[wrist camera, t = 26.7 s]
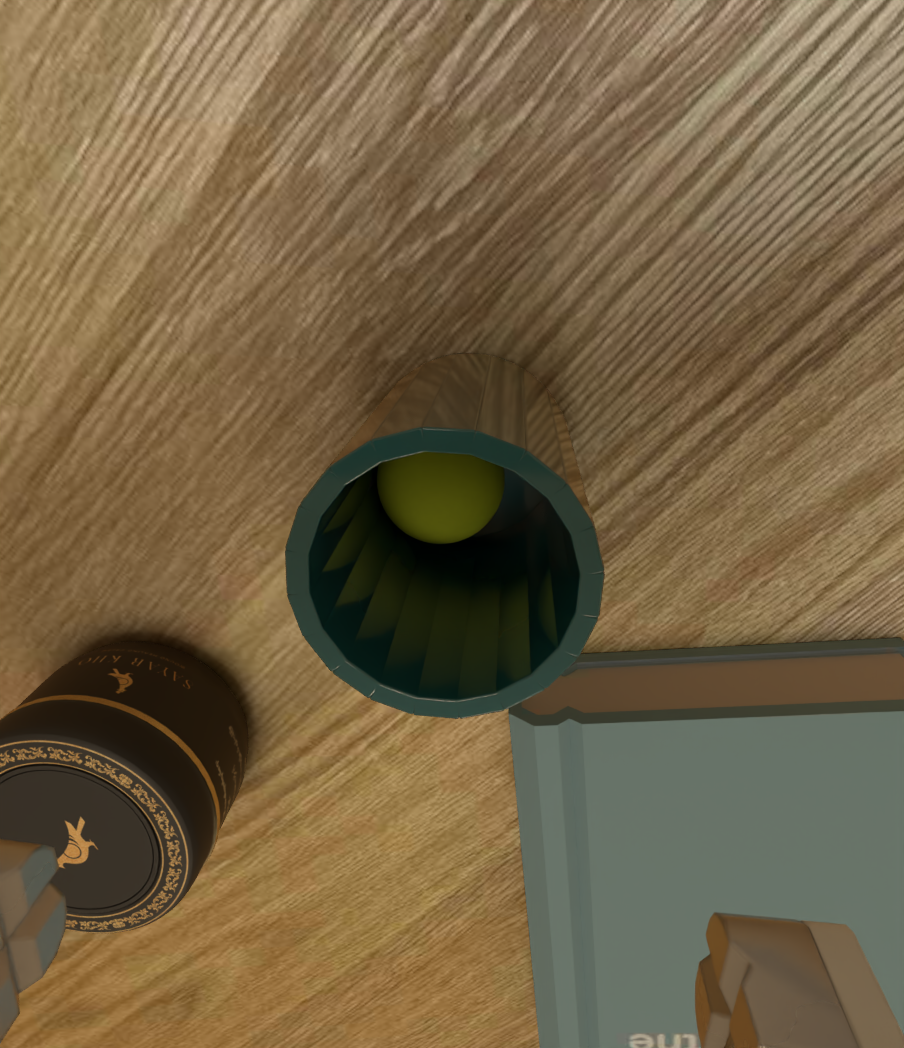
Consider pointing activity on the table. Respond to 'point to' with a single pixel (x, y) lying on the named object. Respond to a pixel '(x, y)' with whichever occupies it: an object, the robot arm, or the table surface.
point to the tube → (451, 551)
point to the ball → (440, 494)
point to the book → (704, 821)
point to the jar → (123, 778)
